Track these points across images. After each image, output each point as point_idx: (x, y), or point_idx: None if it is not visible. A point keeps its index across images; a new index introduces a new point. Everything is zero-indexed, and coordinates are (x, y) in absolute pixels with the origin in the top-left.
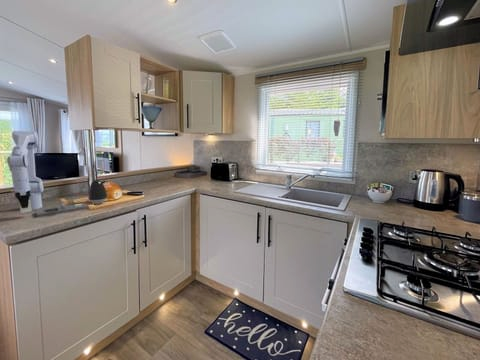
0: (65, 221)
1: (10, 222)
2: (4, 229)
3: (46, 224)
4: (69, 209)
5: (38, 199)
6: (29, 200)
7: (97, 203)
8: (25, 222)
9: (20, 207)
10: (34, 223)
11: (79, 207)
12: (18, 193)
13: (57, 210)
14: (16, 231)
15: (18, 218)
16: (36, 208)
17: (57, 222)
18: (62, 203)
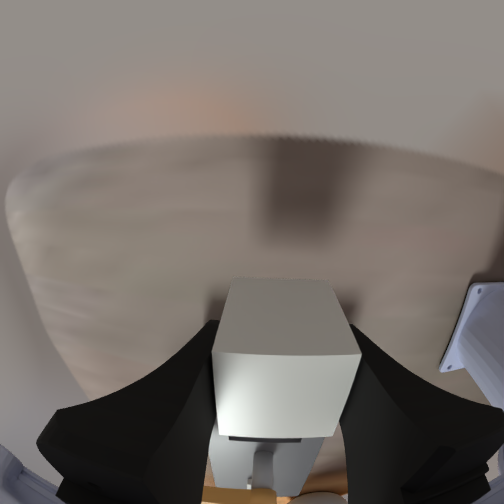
0: (84, 391)
1: (251, 172)
2: (86, 148)
3: (69, 334)
4: (210, 460)
5: (488, 396)
6: (306, 435)
7: (290, 501)
8: (168, 262)
9: (222, 313)
10: (111, 300)
11: (216, 480)
12: (413, 480)
13: (224, 436)
14: (26, 211)
15: (343, 231)
16: (461, 344)
17: (81, 371)
18: (252, 482)
